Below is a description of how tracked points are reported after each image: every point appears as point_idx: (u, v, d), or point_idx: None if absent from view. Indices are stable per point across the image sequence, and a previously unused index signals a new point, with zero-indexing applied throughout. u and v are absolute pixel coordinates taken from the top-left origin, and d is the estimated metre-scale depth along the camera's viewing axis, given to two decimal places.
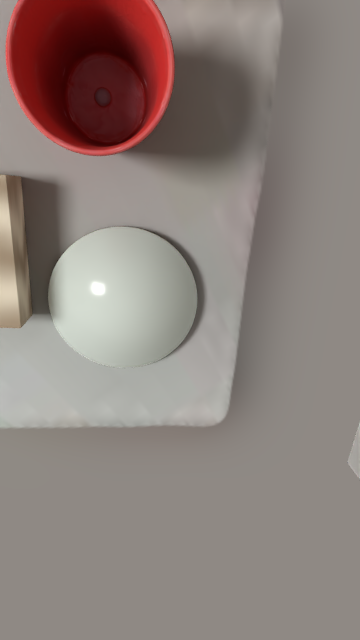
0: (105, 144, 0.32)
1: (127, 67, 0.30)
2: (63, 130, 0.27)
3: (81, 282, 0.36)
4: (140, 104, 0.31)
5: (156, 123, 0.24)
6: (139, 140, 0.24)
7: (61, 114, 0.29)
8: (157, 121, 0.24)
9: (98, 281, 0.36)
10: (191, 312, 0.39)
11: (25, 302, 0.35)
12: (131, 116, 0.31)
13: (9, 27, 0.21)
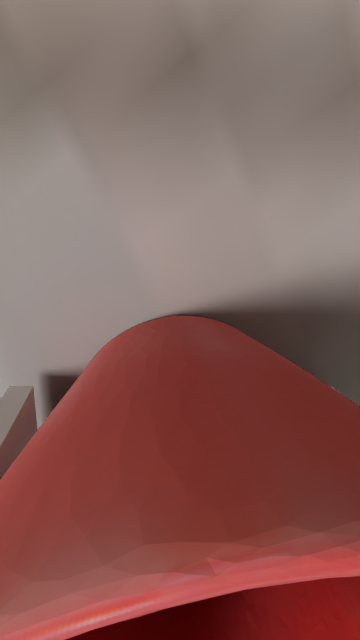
0: None
1: None
2: None
3: None
4: None
5: None
6: None
7: None
8: None
9: None
10: None
11: None
12: None
13: None
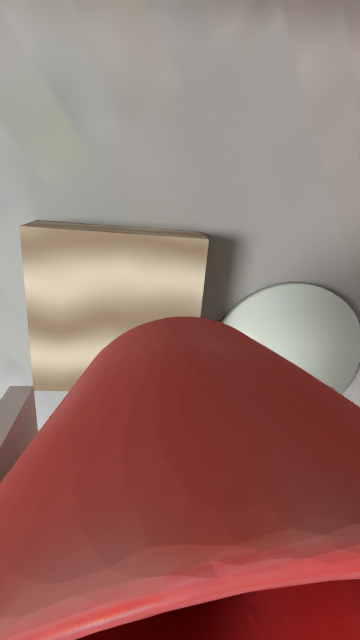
0: None
1: None
2: None
3: None
4: None
5: None
6: None
7: None
8: None
9: (264, 339, 0.34)
10: (352, 369, 0.36)
11: None
12: None
13: None
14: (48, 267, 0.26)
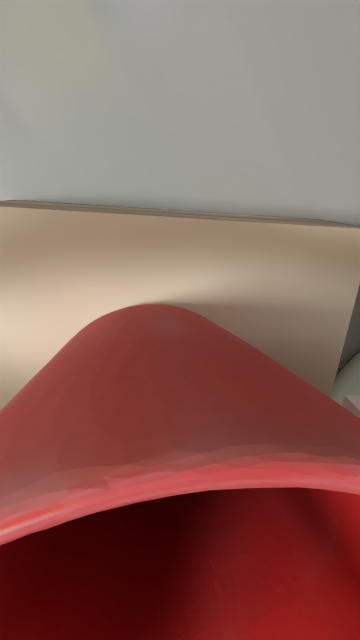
0: None
1: None
2: (59, 632, 0.09)
3: None
4: None
5: None
6: None
7: None
8: None
9: None
10: None
11: None
12: None
13: None
14: (36, 295, 0.12)
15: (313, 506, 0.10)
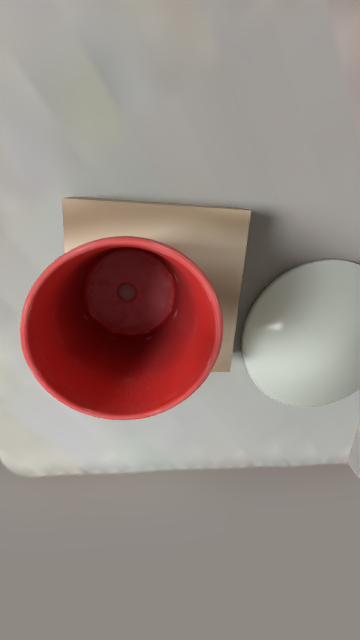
0: (131, 338, 0.28)
1: (153, 260, 0.26)
2: (87, 366, 0.23)
3: (282, 319, 0.33)
4: (169, 294, 0.27)
5: None
6: None
7: (82, 325, 0.25)
8: (203, 381, 0.20)
9: (300, 318, 0.33)
10: None
11: None
12: (159, 306, 0.27)
13: (24, 312, 0.18)
14: (90, 241, 0.26)
15: (192, 318, 0.23)
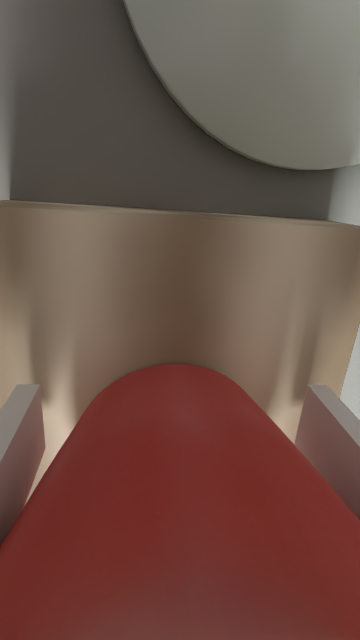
0: None
1: None
2: None
3: (269, 59, 0.12)
4: None
5: None
6: None
7: None
8: None
9: None
10: None
11: (305, 221, 0.14)
12: None
13: None
14: None
15: None
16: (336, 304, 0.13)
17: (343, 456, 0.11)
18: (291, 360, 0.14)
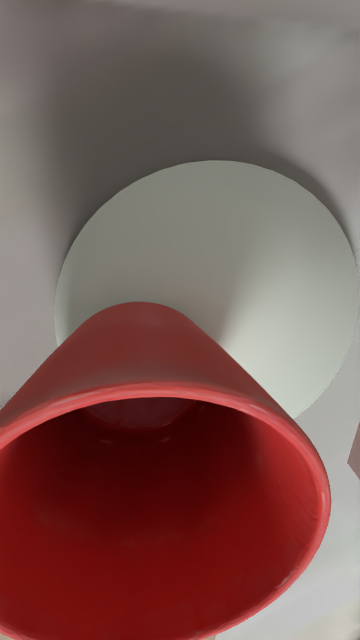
0: None
1: None
2: (222, 501, 0.14)
3: None
4: None
5: (284, 421, 0.08)
6: (316, 457, 0.09)
7: (172, 457, 0.17)
8: (280, 419, 0.08)
9: None
10: (247, 176, 0.15)
11: None
12: None
13: None
14: None
15: None
16: None
17: None
18: None
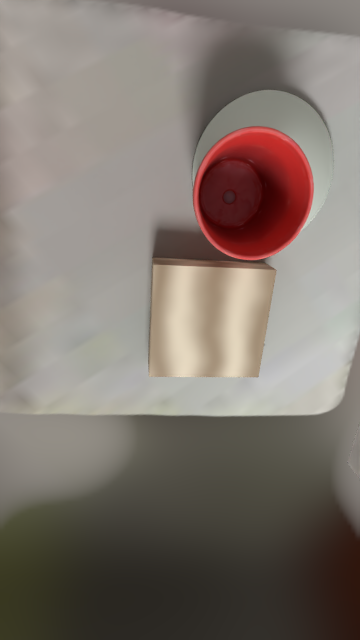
0: (263, 198, 0.38)
1: (209, 173, 0.37)
2: (272, 228, 0.34)
3: None
4: (235, 164, 0.37)
5: (298, 145, 0.28)
6: (308, 162, 0.29)
7: (246, 230, 0.37)
8: (296, 144, 0.28)
9: None
10: (283, 97, 0.36)
11: (253, 265, 0.41)
12: (243, 173, 0.37)
13: (228, 254, 0.31)
14: (173, 363, 0.42)
15: (253, 147, 0.32)
16: (263, 293, 0.40)
17: None
18: (249, 312, 0.41)
